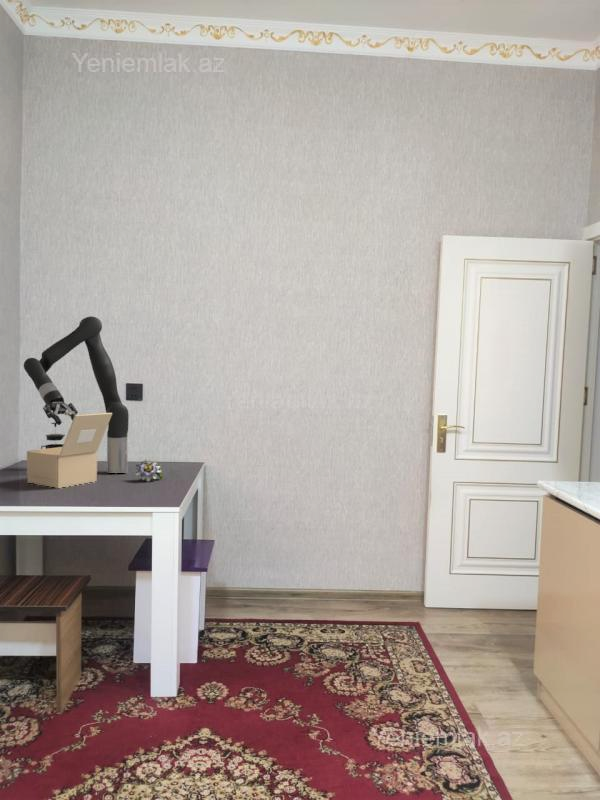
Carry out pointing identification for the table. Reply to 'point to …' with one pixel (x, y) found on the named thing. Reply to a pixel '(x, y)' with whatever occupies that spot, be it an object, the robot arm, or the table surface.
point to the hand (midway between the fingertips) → (68, 423)
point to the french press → (54, 439)
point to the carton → (61, 468)
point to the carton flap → (85, 433)
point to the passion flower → (148, 470)
